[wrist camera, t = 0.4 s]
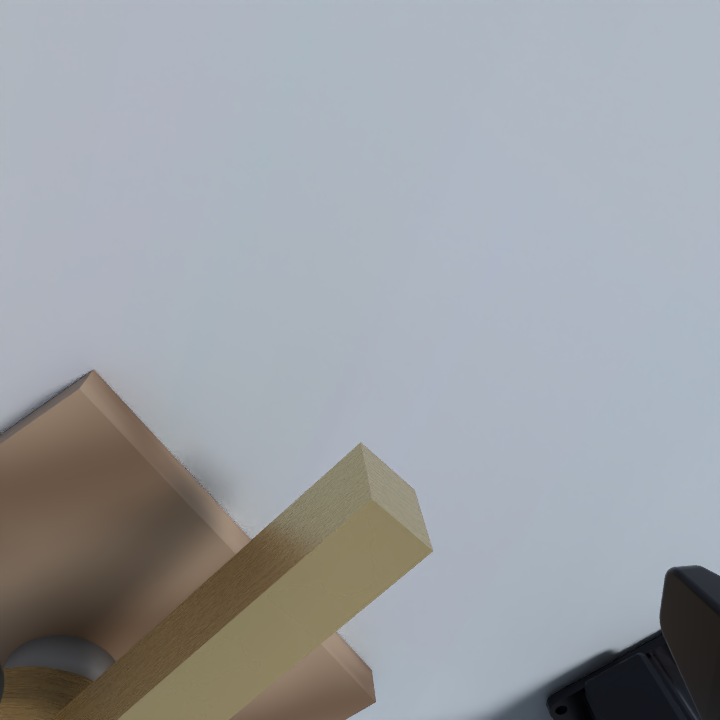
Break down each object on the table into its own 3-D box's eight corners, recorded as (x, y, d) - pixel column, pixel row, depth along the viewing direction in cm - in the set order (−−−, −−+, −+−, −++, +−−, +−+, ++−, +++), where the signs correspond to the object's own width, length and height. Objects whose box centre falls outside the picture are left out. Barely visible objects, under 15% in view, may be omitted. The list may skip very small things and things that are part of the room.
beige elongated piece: (58, 838, 23) (11, 984, 19) (-114, 753, 21) (-205, 896, 17) (456, 506, 19) (494, 603, 15) (296, 362, 17) (297, 435, 13)
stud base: (371, 670, 26) (383, 755, 23) (63, 849, 29) (32, 951, 25) (93, 369, 21) (54, 422, 17) (-265, 619, 23) (-363, 711, 20)
